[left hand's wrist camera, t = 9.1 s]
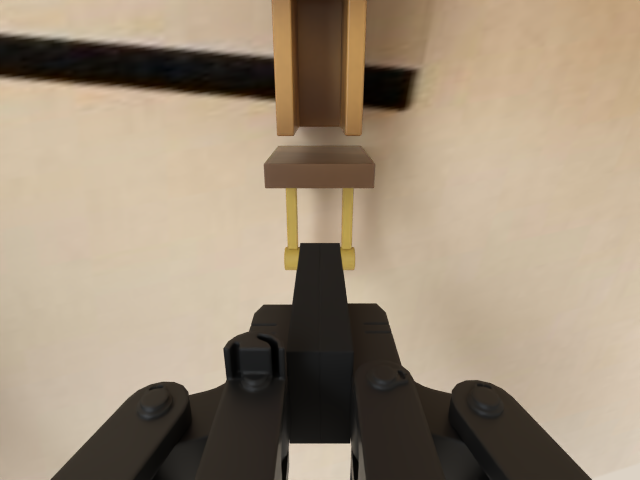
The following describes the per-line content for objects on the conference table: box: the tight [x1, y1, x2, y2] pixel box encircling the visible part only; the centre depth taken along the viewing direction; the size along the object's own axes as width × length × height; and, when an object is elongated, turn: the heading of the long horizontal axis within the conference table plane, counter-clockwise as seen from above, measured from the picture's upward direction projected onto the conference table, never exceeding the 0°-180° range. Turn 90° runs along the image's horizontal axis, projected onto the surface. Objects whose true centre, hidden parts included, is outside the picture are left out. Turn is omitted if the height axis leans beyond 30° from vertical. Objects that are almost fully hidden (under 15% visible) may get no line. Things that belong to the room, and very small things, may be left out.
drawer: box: [264, 0, 375, 270], centre depth 20 cm, size 21×5×7 cm, turn 0°
